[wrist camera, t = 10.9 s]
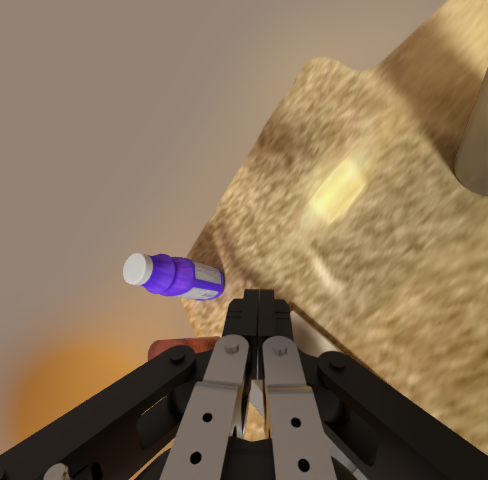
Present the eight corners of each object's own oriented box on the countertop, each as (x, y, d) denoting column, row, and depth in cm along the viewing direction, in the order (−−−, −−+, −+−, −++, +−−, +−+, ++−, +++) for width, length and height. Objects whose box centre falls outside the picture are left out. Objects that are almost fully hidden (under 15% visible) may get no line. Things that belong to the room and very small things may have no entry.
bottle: (227, 265, 48) (154, 240, 34) (229, 297, 46) (153, 285, 32) (194, 272, 51) (115, 252, 37) (195, 303, 49) (111, 294, 35)
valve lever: (288, 451, 26) (232, 517, 17) (209, 349, 32) (141, 358, 24) (309, 426, 25) (264, 480, 17) (225, 328, 32) (162, 330, 23)
